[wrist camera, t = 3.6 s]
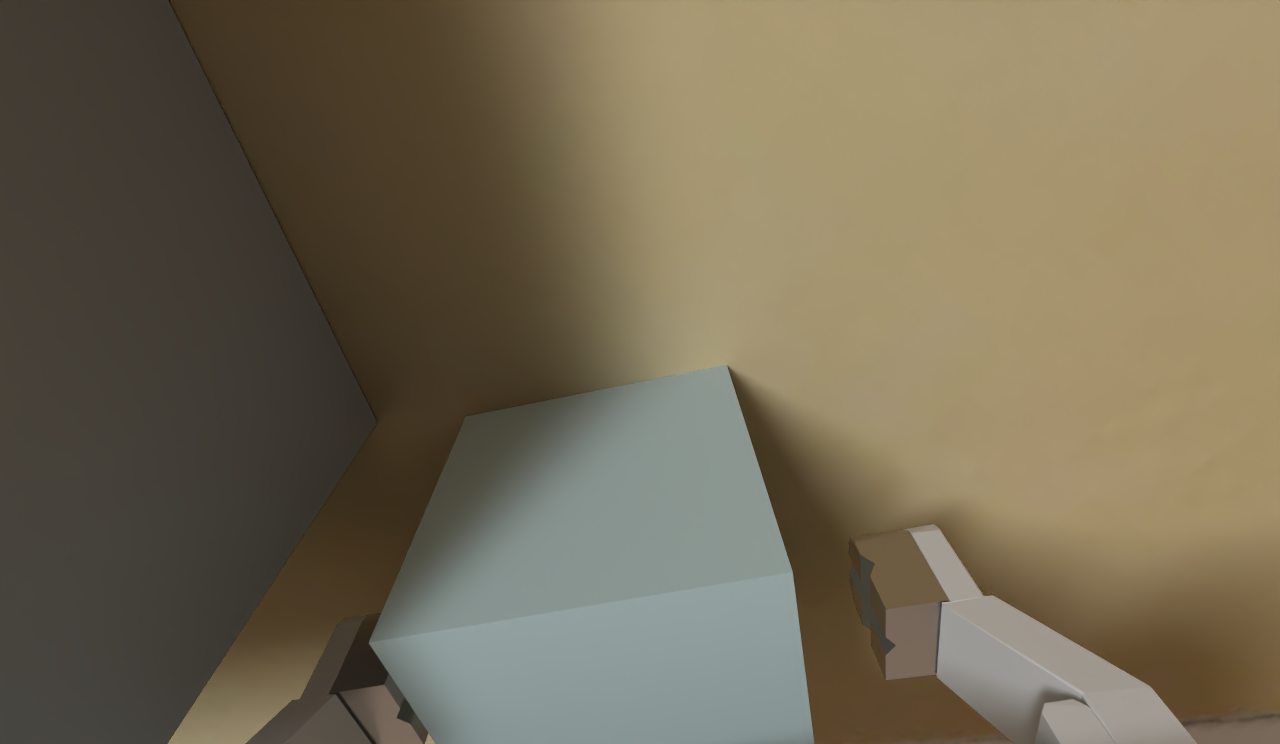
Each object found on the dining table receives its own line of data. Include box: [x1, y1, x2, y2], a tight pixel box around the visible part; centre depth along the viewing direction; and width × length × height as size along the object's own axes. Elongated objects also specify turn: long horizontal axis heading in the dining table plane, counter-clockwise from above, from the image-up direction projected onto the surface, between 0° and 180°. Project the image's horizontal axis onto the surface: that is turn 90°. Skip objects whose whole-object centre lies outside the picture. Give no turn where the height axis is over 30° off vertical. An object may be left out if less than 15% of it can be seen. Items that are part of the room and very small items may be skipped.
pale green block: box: [369, 365, 814, 744], centre depth 11 cm, size 5×7×5 cm
